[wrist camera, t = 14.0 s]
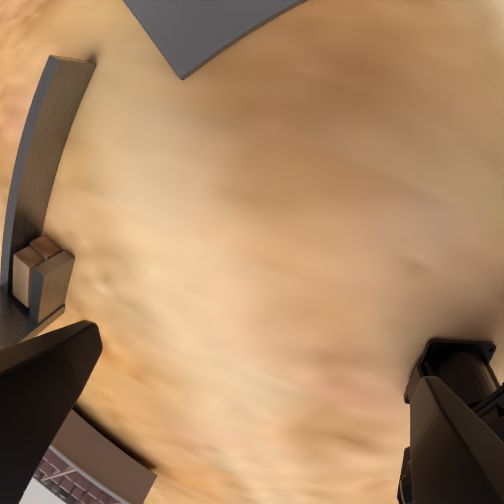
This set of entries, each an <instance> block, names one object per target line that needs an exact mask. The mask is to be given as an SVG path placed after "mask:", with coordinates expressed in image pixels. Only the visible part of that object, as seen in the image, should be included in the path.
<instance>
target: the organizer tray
mask: <svg viewBox="0 0 504 504" xmlns="http://www.w3.org/2000/svg"><path fill="white" fill-rule="evenodd" d="M156 477H157V475H156V474H154V473H153V472H151V471H150V470H148V469H147V468H145V467H144V466H142V465H141V464H139V463H138V462H137V461H135V460H134V459H132V458H131V457H130V456H128V455H127V454H126V453H124V452H123V451H122V450H120V449H119V448H118V447H116V446H115V445H114V444H113V443H111V442H110V441H109V440H107V439H106V438H105V437H104V436H102V435H101V434H100V433H99V432H98V431H96V430H95V429H94V428H93V427H92V426H91V425H89V424H88V423H87V422H86V421H85V420H84V419H82V418H81V417H80V416H79V415H78V414H77V413H76V412H75V411H74V410H72V409H71V411H70V412H69V414H68V416H67V417H66V419H65V421H64V422H63V424H62V426H61V427H60V429H59V431H58V433H57V434H56V436H55V438H54V439H53V441H52V443H51V445H50V446H49V448H48V450H47V452H46V453H45V455H44V457H43V459H42V460H41V462H40V464H39V466H38V468H37V469H36V471H35V473H34V475H33V478H34V479H36V480H37V481H38V482H39V483H40V484H42V485H43V486H44V487H45V488H47V489H48V490H49V491H50V492H52V493H53V494H54V495H55V496H57V497H58V498H60V499H61V500H62V501H64V502H65V503H66V504H143V502H144V500H145V498H146V496H147V494H148V492H149V490H150V488H151V486H152V485H153V483H154V481H155V479H156Z"/></svg>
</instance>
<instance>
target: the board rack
mask: <svg viewBox="0 0 504 504" xmlns="http://www.w3.org/2000/svg"><path fill="white" fill-rule="evenodd" d="M95 67H96V65H95V64H93V63H91V62H89V61H86V60H80V59H74V58H68V57H61V56H54V55H50V56H49V58H48V60H47V63H46V65H45V68H44V70H43V73H42V75H41V78H40V81H39V83H38V86H37V89H36V92H35V94H34V97H33V100H32V103H31V106H30V109H29V113H28V116H27V119H26V123H25V126H24V129H23V133H22V137H21V140H20V144H19V148H18V152H17V157H16V161H15V165H14V170H13V175H12V180H11V185H10V191H9V197H8V203H7V210H6V217H5V225H4V233H3V243H2V256H1V274H0V349H3V348H6V347H9V346H11V345H14V344H17V343H20V342H23V341H26V340H29V339H31V338H34V337H35V336H37V335H38V334H39V333H40V332H41V331H43V330H44V329H45V328H46V327H47V326H49V325H50V324H51V323H52V322H53V321H55V320H56V319H57V318H58V317H60V316H61V315H62V314H63V313H64V308H65V305H64V302H65V297H66V293H67V288H68V284H69V279H70V275H71V271H72V267H73V263H74V259H75V257H74V256H73V255H71V254H70V253H69V252H68V251H67V250H64V251H62V252H61V253H59V254H57V255H55V256H54V257H52V258H50V259H48V260H47V261H45V262H43V263H41V264H40V265H38V266H36V267H35V268H34V274H33V282H32V291H31V300H30V307H28V308H27V307H26V306H25V305H24V304H23V303H22V302H21V301H19V300H18V299H17V298H16V297H15V296H14V295H13V258H14V254H15V253H17V252H19V251H20V250H22V249H24V248H26V247H28V246H30V242H31V241H33V240H35V239H37V238H39V237H41V233H42V228H43V223H44V218H45V214H46V209H47V205H48V201H49V197H50V193H51V189H52V185H53V182H54V178H55V174H56V171H57V168H58V164H59V161H60V158H61V154H62V151H63V148H64V145H65V142H66V139H67V136H68V133H69V131H70V128H71V125H72V122H73V120H74V117H75V114H76V112H77V109H78V107H79V104H80V102H81V99H82V97H83V94H84V92H85V90H86V87H87V85H88V83H89V80H90V78H91V76H92V74H93V72H94V69H95Z"/></svg>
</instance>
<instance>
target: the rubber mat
mask: <svg viewBox="0 0 504 504" xmlns="http://www.w3.org/2000/svg"><path fill="white" fill-rule="evenodd" d="M123 1H124V3H125V4H126V5H127V7H128V8H129V9H130V11H131V12H132V13H133V15H134V16H135V17H136V19H137V20H138V22H139V23H140V24H141V26H142V27H143V28H144V30H145V31H146V32H147V34H148V35H149V37H150V38H151V39H152V41H153V42H154V44H155V45H156V46H157V48H158V49H159V51H160V52H161V53H162V55H163V56H164V58H165V59H166V60H167V62H168V63H169V65H170V66H171V67H172V69H173V70H174V72H175V73H176V75H177V76H178V77H179V79H182V80H184V79H185V78H187V77H188V76H189V75H191V74H192V73H193V72H195V71H196V70H197V69H199V68H200V67H201V66H203V65H204V64H205V63H207V62H208V61H209V60H211V59H212V58H214V57H215V56H216V55H218V54H219V53H221V52H222V51H224V50H225V49H226V48H228V47H229V46H231V45H232V44H234V43H235V42H237V41H238V40H240V39H241V38H243V37H245V36H246V35H248V34H249V33H251V32H252V31H254V30H256V29H257V28H259V27H261V26H262V25H264V24H265V23H267V22H269V21H270V20H272V19H274V18H276V17H277V16H279V15H281V14H283V13H284V12H286V11H288V10H290V9H292V8H293V7H295V6H297V5H299V4H301V3H303V2H305V1H307V0H181V1H179V0H123Z"/></svg>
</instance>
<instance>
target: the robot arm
mask: <svg viewBox="0 0 504 504" xmlns="http://www.w3.org/2000/svg"><path fill="white" fill-rule="evenodd" d="M433 345H435V346H434V347H432V346H433ZM102 348H103V347H102V341H101V337H100V333H99V329H98V326H97V324H96V323H94V322H91V321H87V320H82V321H79V322H77V323H74V324H71V325H68V326H65V327H63V328H60V329H57V330H54V331H51V332H48V333H46V334H43V335H40V336H37V337H34V338H31V339H29V340H26V341H23V342H20V343H17V344H14V345H11V346H9V347H6V348H3V349H0V504H19V502H20V500H21V498H22V496H23V494H24V491H25V490H26V488H27V486H28V484H29V482H30V480H31V478H32V477H33V475H34V473H35V471H36V469H37V468H38V466H39V464H40V462H41V460H42V459H43V457H44V455H45V453H46V452H47V450H48V448H49V446H50V445H51V443H52V441H53V439H54V438H55V436H56V434H57V433H58V431H59V429H60V427H61V426H62V424H63V422H64V421H65V419H66V417H67V416H68V414H69V412H70V411H71V409H72V408H73V406H74V404H75V403H76V401H77V399H78V398H79V396H80V394H81V393H82V391H83V389H84V387H85V385H86V383H87V381H88V379H89V377H90V375H91V373H92V371H93V369H94V367H95V365H96V363H97V361H98V359H99V357H100V355H101V353H102ZM489 348H490V349H489ZM495 350H496V346H495V344H494V343H493V342H485V341H463V340H445V339H432V340H430V341H429V342H428V343H427V345H426V348H425V350H424V353H423V355H422V358H421V360H420V362H419V363H418V364H417V365H416V367H415V369H414V372H413V374H412V376H411V378H410V381H409V383H408V385H407V387H406V389H407V391H406V393H405V395H404V401H405V403H407V404H410V446H409V447H407V448H405V451H404V457H403V464H402V470H401V475H400V481H399V486H398V494H397V499H398V501H399V504H504V382H503V383H502V384H503V385H501V386H500V384H499V382H498V380H497V378H496V376H495V374H494V372H493V370H492V368H491V366H490V364H489V362H490V360H491V358H492V356H493V354H494V352H495ZM408 398H409V399H408Z"/></svg>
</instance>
